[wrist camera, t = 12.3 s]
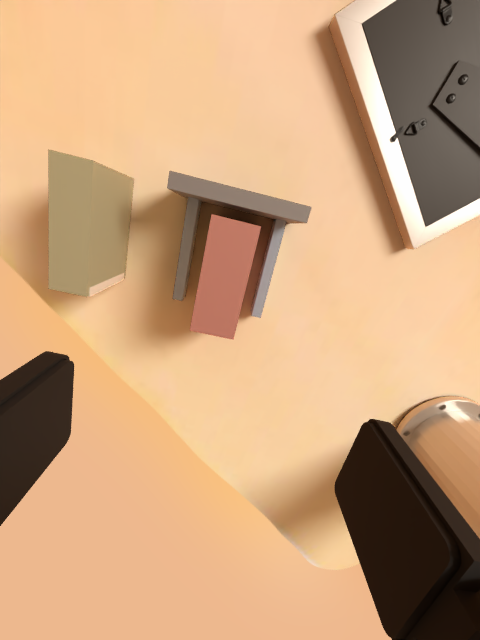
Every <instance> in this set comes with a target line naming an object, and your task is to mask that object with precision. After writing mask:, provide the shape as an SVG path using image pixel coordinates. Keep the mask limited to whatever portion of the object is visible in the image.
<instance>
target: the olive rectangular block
mask: <svg viewBox="0 0 480 640" xmlns="http://www.w3.org/2000/svg"><path fill="white" fill-rule="evenodd" d="M48 177H49V289H52V290H56V291H61V292H66V293H71V294H75V295H80V296H85V297H91V296H93V295H95V294H97V293H99V292H101V291H103V290H105V289H107V288H109V287H111V286H113V285H115V284H117V283H119V282H121V281H123V280H124V279H125V271H126V260H127V249H128V238H129V228H130V217H131V206H132V195H133V184H134V179H133V178H131V177H129V176H127V175H124V174H122V173H120V172H118V171H115V170H113V169H111V168H108V167H106V166H104V165H102V164H99V163H97V162H95V161H92V160H88V159H84V158H80V157H76V156H72V155H69V154H65V153H61V152H57V151H53V150H49V149H48Z"/></svg>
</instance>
